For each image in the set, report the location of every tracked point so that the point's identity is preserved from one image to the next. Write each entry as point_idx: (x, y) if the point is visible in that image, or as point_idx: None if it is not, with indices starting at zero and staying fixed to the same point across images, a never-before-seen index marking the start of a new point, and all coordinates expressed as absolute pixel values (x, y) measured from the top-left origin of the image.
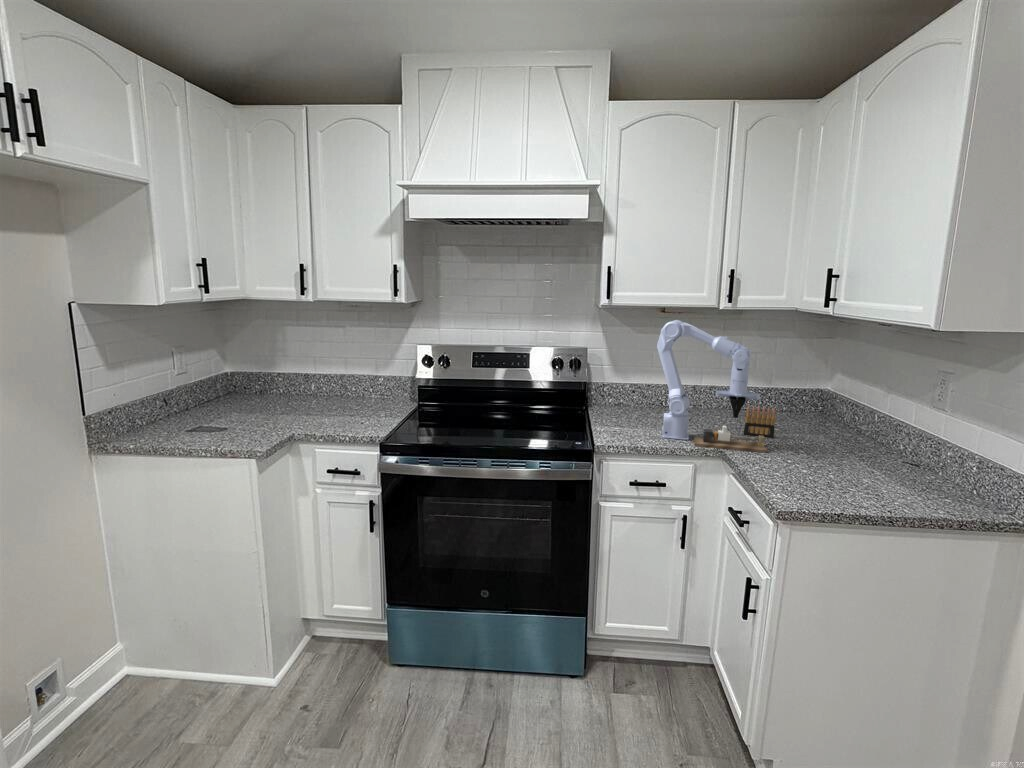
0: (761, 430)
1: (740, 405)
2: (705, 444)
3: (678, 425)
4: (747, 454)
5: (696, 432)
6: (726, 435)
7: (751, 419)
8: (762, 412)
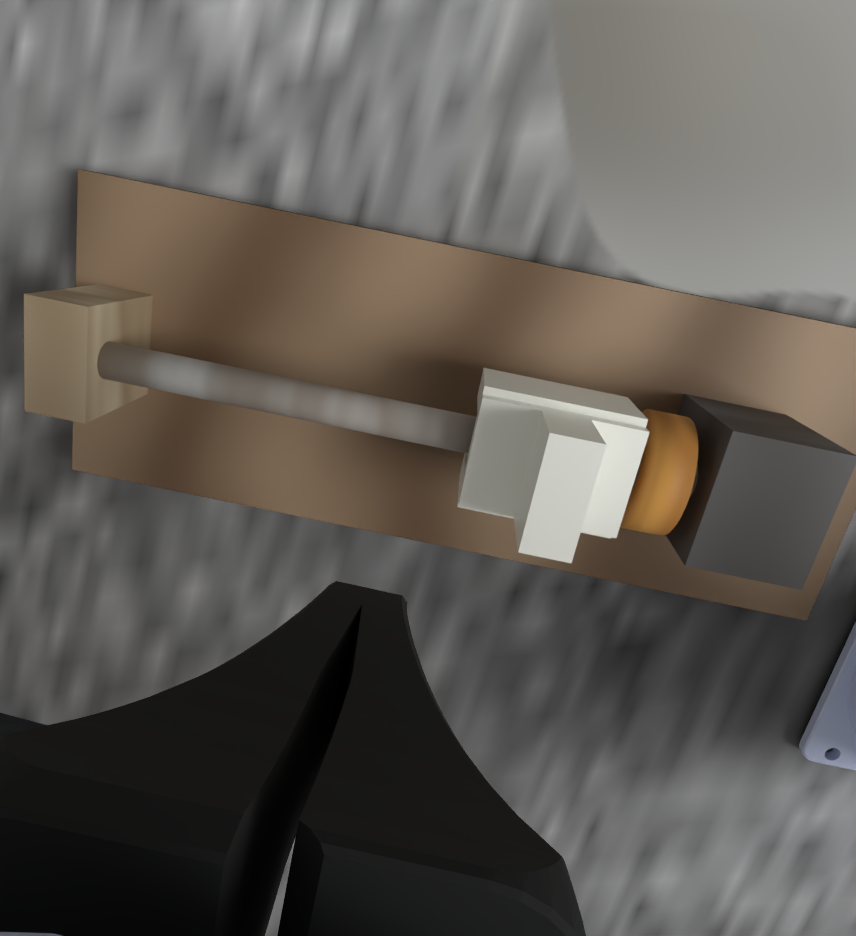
0: None
1: (208, 715)
2: (799, 319)
3: None
4: (343, 73)
5: (665, 822)
6: (536, 391)
7: None
8: None
